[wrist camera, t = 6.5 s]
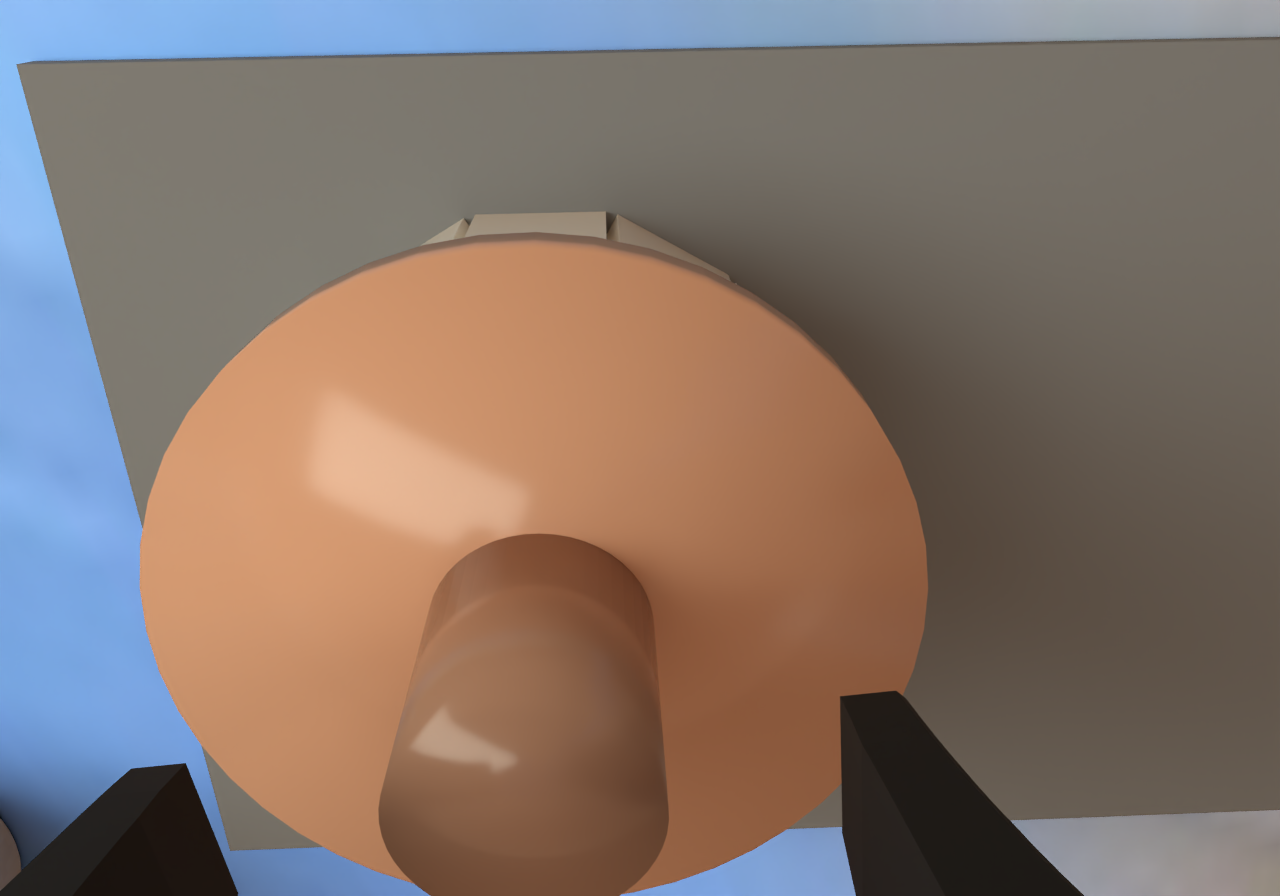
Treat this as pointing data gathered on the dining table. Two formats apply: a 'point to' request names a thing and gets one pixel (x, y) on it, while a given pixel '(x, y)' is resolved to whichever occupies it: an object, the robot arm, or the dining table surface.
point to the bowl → (568, 231)
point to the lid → (531, 567)
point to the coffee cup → (8, 856)
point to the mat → (817, 324)
